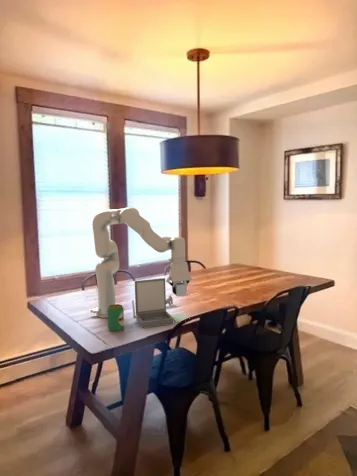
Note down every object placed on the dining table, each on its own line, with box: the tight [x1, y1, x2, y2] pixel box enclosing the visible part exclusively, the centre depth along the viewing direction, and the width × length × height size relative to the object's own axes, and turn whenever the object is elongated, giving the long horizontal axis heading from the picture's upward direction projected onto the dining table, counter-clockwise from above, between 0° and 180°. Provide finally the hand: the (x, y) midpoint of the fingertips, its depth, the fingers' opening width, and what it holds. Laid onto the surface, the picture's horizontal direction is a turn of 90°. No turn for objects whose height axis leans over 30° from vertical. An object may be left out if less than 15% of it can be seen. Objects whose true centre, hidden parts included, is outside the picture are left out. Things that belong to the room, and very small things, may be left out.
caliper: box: [166, 294, 174, 306], centre depth 217 cm, size 20×1×6 cm, turn 139°
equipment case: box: [131, 277, 175, 329], centre depth 192 cm, size 19×15×22 cm
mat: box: [170, 312, 189, 324], centre depth 198 cm, size 8×13×1 cm, turn 19°
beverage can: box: [107, 303, 125, 333], centre depth 182 cm, size 8×8×12 cm
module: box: [174, 281, 187, 297], centre depth 196 cm, size 5×8×6 cm, turn 19°
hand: (179, 292), depth 197 cm, fingers closed on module, 5 cm apart
